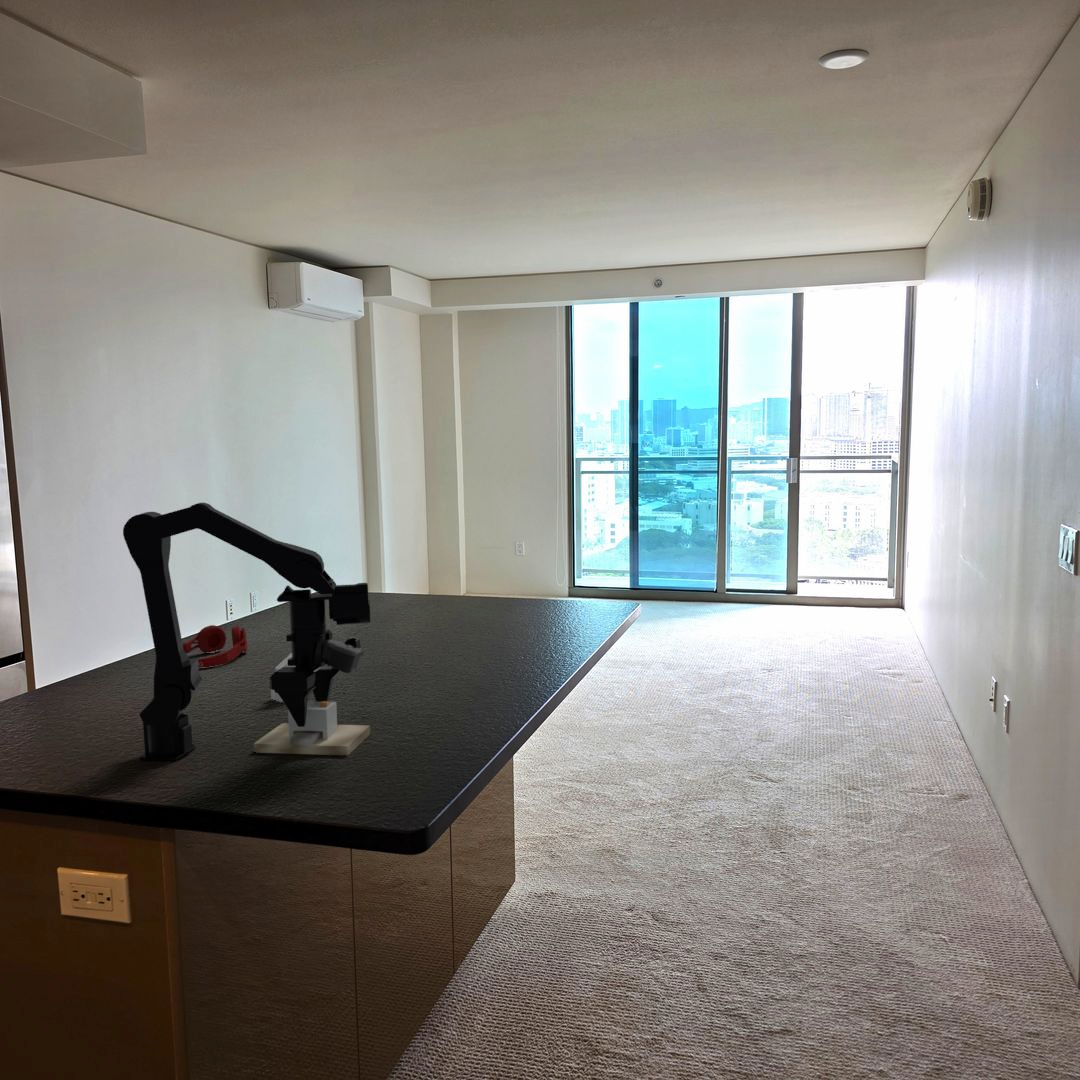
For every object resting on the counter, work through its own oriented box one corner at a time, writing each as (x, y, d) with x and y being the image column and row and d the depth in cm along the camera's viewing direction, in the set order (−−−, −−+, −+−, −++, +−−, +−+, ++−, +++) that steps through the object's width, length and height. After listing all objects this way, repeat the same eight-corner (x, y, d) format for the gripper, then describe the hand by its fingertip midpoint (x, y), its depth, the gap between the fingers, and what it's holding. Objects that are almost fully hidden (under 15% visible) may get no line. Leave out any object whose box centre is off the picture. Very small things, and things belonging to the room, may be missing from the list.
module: (289, 738, 150) (287, 705, 150) (299, 729, 155) (298, 697, 154) (327, 739, 149) (326, 706, 149) (337, 730, 154) (336, 698, 153)
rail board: (254, 752, 148) (253, 737, 148) (282, 731, 159) (281, 717, 159) (347, 755, 146) (347, 740, 145) (370, 733, 156) (369, 719, 156)
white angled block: (323, 679, 185) (304, 647, 181) (289, 713, 179) (268, 680, 175) (312, 676, 187) (293, 644, 183) (278, 710, 181) (257, 678, 177)
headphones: (208, 647, 228) (159, 678, 209) (204, 621, 226) (154, 649, 207) (261, 649, 224) (217, 681, 205) (258, 622, 223) (212, 651, 204)
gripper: (334, 638, 140) (338, 737, 141) (373, 616, 158) (376, 703, 160) (266, 638, 141) (270, 735, 143) (312, 616, 160) (316, 702, 161)
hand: (312, 718), depth 152 cm, fingers open, 9 cm apart
